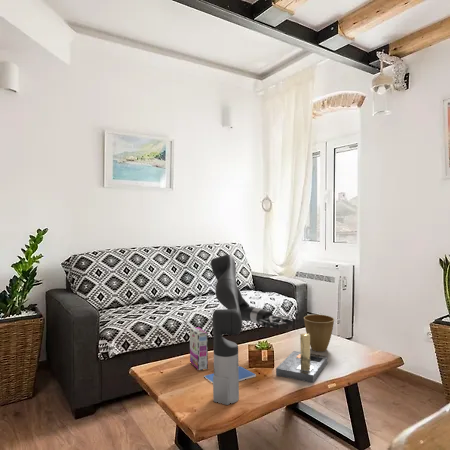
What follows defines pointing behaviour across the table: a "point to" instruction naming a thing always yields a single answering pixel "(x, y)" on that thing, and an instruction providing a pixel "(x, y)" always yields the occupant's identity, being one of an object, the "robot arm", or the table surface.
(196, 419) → the table surface
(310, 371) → the grey flat block
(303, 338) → the barrel peg
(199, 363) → the candy bar box
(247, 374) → the blue notebook
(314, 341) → the plant pot
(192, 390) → the table surface
